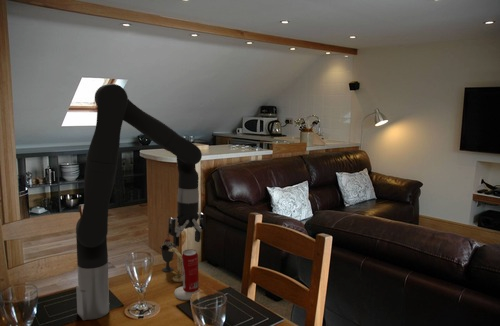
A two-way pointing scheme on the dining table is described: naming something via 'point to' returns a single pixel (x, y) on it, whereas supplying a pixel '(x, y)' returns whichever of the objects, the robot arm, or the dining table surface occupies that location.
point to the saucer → (183, 294)
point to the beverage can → (190, 271)
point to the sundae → (167, 254)
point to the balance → (179, 257)
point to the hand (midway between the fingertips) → (187, 243)
